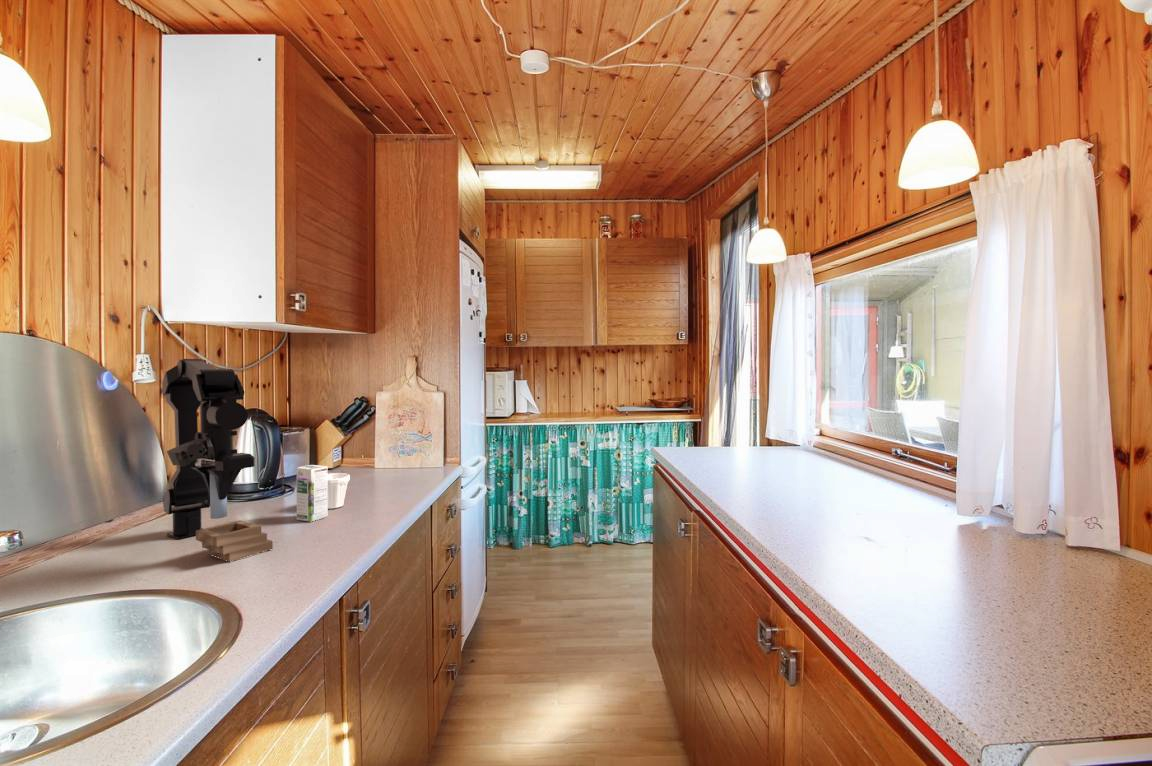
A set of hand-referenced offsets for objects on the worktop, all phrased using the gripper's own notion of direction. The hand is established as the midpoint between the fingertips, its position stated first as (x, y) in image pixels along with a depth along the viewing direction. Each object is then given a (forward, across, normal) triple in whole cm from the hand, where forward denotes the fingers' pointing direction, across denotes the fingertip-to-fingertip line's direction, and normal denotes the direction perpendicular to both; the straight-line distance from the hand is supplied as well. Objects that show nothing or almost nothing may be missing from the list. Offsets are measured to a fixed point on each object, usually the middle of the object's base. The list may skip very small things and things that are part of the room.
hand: (218, 498), depth 111 cm
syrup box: (+13, -11, +29) cm, 33 cm away
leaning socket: (+13, 0, +3) cm, 14 cm away
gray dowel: (+4, 0, 0) cm, 4 cm away
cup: (+13, -17, +39) cm, 44 cm away
